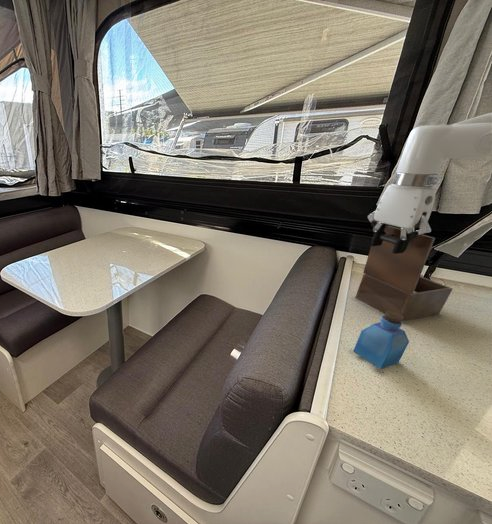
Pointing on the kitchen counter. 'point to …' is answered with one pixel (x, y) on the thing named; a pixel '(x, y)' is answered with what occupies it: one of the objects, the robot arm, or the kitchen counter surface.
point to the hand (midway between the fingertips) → (386, 248)
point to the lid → (398, 260)
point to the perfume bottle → (383, 341)
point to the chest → (404, 297)
